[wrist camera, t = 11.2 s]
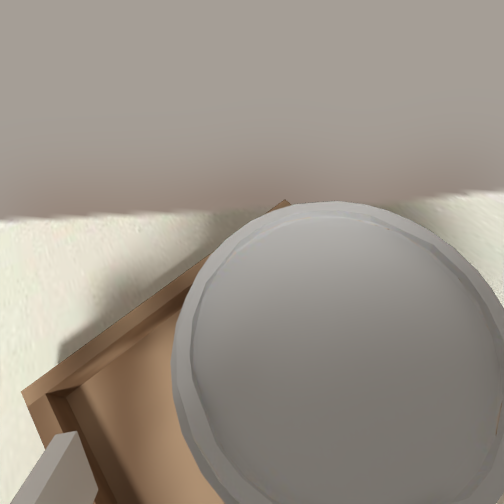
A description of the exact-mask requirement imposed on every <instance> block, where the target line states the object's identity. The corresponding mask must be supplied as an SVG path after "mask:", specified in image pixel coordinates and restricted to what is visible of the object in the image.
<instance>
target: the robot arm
mask: <svg viewBox="0 0 504 504" xmlns="http://www.w3.org/2000/svg"><path fill="white" fill-rule="evenodd" d="M97 492H98V487H97V484H96V481H95V479H94V476H93V473H92V471H91V468H90V465H89V462H88V460H87V457H86V454H85V451H84V449H83V446H82V443H81V440H80V438H79V435H78V432H77V431H73V432H67V433H62V434H56V435H55V436H54V437H53V439H52V440H51V442H50V443H49V445H48V446H47V448H46V450H45V451H44V453H43V454H42V456H41V457H40V459H39V460H38V462H37V463H36V465H35V466H34V468H33V469H32V471H31V472H30V474H29V476H28V477H27V479H26V480H25V482H24V483H23V485H22V486H21V488H20V489H19V491H18V492H17V494H16V495H15V497H14V498H13V500H12V502H11V503H10V504H93V502H94V499H95V497H96V494H97ZM497 504H504V493H503V494H502V496H501V497H500V498H499V500H498V501H497Z"/></svg>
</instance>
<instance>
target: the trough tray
mask: <svg viewBox="0 0 504 504" xmlns="http://www.w3.org/2000/svg"><path fill="white" fill-rule="evenodd" d="M287 206H291V204H290V203H289V202H287V201H286V200H283V201H282V202H281V203H279V204H278V205H277V206H275V207H274V208H272V209H271V210H270V211H268V212H267V213H269V212H271V211H274V210H277V209H280V208H284V207H287ZM267 213H266V214H267ZM264 215H265V214H264ZM213 252H214V251H213ZM213 252H212V253H213ZM212 253H211V254H212ZM211 254H209V255H208V256H207V257H205V258H204V259H202V260H201V261H200V262H198V263H197V264H196V265H194V266H193V267H191V268H190V269H189V270H187V271H186V272H185V273H183V274H182V275H180V276H179V277H178V278H176V279H175V280H174V281H172V282H171V283H169V284H168V285H167V286H165V287H164V288H163V289H161V290H160V291H158V292H157V293H156V294H154V295H153V296H152V297H150V298H149V299H147V300H146V301H145V302H143V303H142V304H141V305H139V306H138V307H136V308H135V309H134V310H132V311H131V312H130V313H128V314H127V315H126V316H124V317H123V318H121V319H120V320H119V321H117V322H116V323H115V324H113V325H112V326H110V327H109V328H108V329H106V330H105V331H104V332H102V333H101V334H99V335H98V336H97V337H95V338H94V339H93V340H91V341H90V342H88V343H87V344H86V345H84V346H83V347H82V348H80V349H79V350H77V351H76V352H75V353H73V354H72V355H71V356H69V357H68V358H66V359H65V360H64V361H62V362H61V363H60V364H58V365H57V366H55V367H54V368H53V369H51V370H50V371H49V372H47V373H46V374H44V375H43V376H42V377H40V378H39V379H38V380H36V381H35V382H33V383H32V384H31V385H29V386H28V387H27V388H25V389H24V390H22V391H21V393H22V395H23V398H24V400H25V403H26V405H27V407H28V410H29V412H30V414H31V417H32V419H33V421H34V424H35V426H36V429H37V431H38V433H39V436H40V438H41V440H42V443H43V445H44V448H45V450H46V448H47V446H48V445H49V443H50V442H51V440H52V439H53V437H54V436H55V435H56V434H62V433H67V432H73V431H77V432H78V435H79V438H80V440H81V443H82V446H83V449H84V451H85V454H86V457H87V460H88V462H89V465H90V468H91V471H92V473H93V476H94V479H95V481H96V484H97V487H98V492H97V494H96V497H95V499H94V502H93V504H225V503H224V502H223V500H222V499H221V498H220V497H219V495H218V494H217V493H216V492H215V490H214V489H213V488H212V486H211V485H210V484H209V483H208V481H207V480H206V479H205V478H204V476H203V475H202V474H201V472H200V470H199V468H198V466H197V463H196V461H195V459H194V457H193V455H192V453H191V451H190V449H189V447H188V445H187V443H186V441H185V439H184V437H183V435H182V432H181V428H180V424H179V420H178V416H177V412H176V408H175V404H174V400H173V393H172V379H171V365H170V361H171V354H172V348H173V341H174V334H175V328H176V322H177V320H178V317H179V314H180V312H181V309H182V306H183V304H184V301H185V298H186V296H187V294H188V292H189V290H190V288H191V286H192V284H193V282H194V280H195V278H196V276H197V274H198V272H199V271H200V269H201V268H202V267H203V265H204V264H205V262H206V261H207V259H208V258H209V257H210V255H211Z"/></svg>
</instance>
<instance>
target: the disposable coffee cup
mask: <svg viewBox="0 0 504 504" xmlns="http://www.w3.org/2000/svg"><path fill="white" fill-rule="evenodd" d="M170 365H171V379H172V393H173V400H174V404H175V408H176V412H177V416H178V420H179V424H180V428H181V432H182V435H183V437H184V439H185V441H186V443H187V445H188V447H189V449H190V451H191V453H192V455H193V457H194V459H195V461H196V463H197V466H198V468H199V470H200V472H201V474H202V475H203V476H204V478H205V479H206V480H207V481H208V483H209V484H210V485H211V486H212V488H213V489H214V490H215V492H216V493H217V494H218V495H219V497H220V498H221V499H222V500H223V502H224V503H225V504H496V503H497V501H498V500H499V498H500V497H501V496H502V494H503V493H504V308H503V306H502V305H501V303H500V302H499V300H498V298H497V297H496V295H495V293H494V292H493V290H492V288H491V287H490V286H489V285H488V283H487V282H486V281H485V280H484V278H483V277H482V276H481V274H480V273H479V272H478V271H477V270H476V269H475V268H474V267H473V266H472V265H471V264H470V263H469V262H468V261H467V260H466V259H465V258H464V257H463V256H462V255H461V254H460V253H459V252H458V251H457V250H456V249H455V248H454V247H452V246H451V245H450V244H448V243H447V242H445V241H444V240H443V239H441V238H440V237H438V236H437V235H436V234H434V233H433V232H431V231H430V230H428V229H426V228H425V227H423V226H421V225H419V224H417V223H415V222H414V221H412V220H410V219H407V218H405V217H402V216H400V215H398V214H395V213H393V212H390V211H388V210H384V209H381V208H377V207H373V206H369V205H365V204H359V203H351V202H343V201H326V202H312V203H302V204H294V205H291V206H287V207H284V208H280V209H277V210H274V211H271V212H269V213H267V214H265V215H262V216H260V217H258V218H256V219H254V220H251V221H250V222H248V223H247V224H246V225H244V226H243V227H242V228H240V229H239V230H238V231H236V232H235V233H234V234H232V235H231V236H229V237H228V238H227V239H225V241H224V242H223V243H222V244H221V245H220V246H219V247H218V248H217V249H216V250H215V251H214V252H213V253H212V254H211V255H210V257H209V258H208V259H207V261H206V262H205V264H204V265H203V267H202V268H201V269H200V271H199V272H198V274H197V276H196V278H195V280H194V282H193V284H192V286H191V288H190V290H189V292H188V294H187V296H186V298H185V301H184V304H183V306H182V309H181V312H180V314H179V317H178V320H177V322H176V328H175V334H174V341H173V348H172V354H171V361H170Z"/></svg>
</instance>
